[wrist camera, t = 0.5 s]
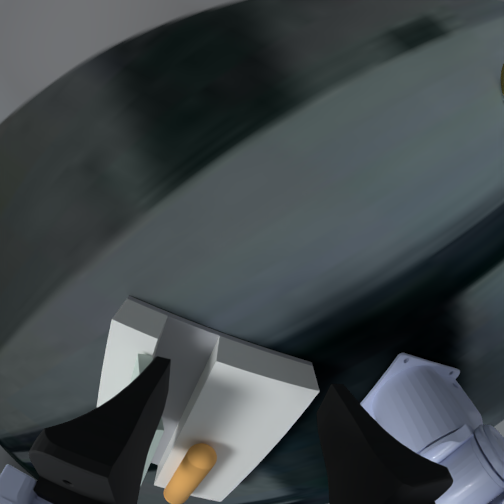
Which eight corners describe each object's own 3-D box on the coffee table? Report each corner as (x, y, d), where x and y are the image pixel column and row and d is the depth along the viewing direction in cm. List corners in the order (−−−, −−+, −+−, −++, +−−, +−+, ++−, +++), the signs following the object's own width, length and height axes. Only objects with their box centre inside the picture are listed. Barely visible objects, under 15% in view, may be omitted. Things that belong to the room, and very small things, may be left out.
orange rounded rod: (221, 442, 22) (220, 465, 20) (185, 492, 25) (182, 509, 23) (193, 434, 22) (189, 457, 19) (163, 486, 25) (160, 503, 23)
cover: (164, 430, 14) (146, 429, 13) (138, 491, 17) (125, 491, 16) (152, 355, 19) (137, 353, 18) (129, 432, 22) (118, 431, 21)
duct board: (311, 362, 23) (319, 391, 20) (221, 478, 29) (220, 501, 26) (129, 295, 21) (111, 319, 18) (100, 439, 27) (91, 461, 24)
